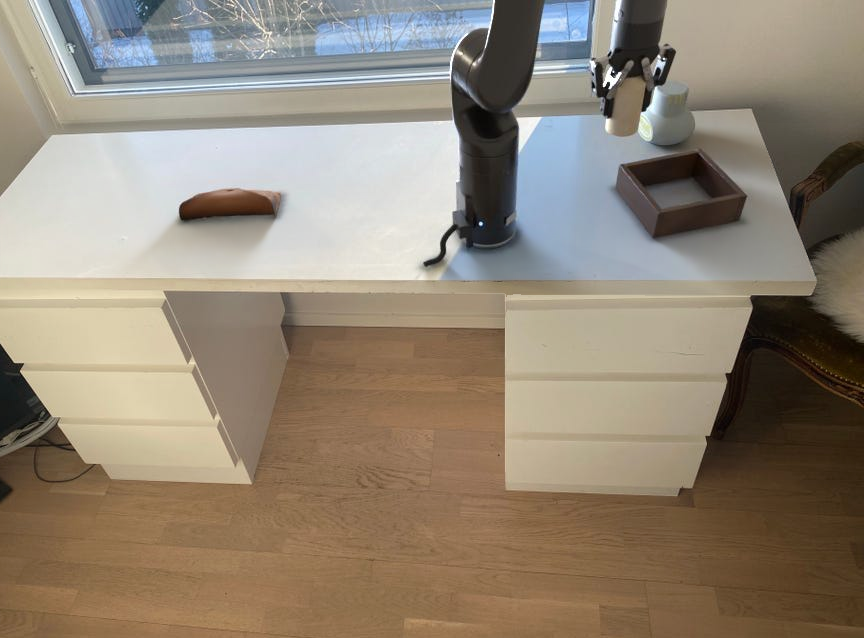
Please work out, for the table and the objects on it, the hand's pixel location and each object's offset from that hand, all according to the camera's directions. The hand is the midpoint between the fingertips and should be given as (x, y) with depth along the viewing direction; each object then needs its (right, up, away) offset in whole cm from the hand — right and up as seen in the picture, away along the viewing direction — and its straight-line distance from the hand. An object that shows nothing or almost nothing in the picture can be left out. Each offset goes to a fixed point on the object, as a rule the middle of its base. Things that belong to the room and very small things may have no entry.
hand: (623, 112), depth 123 cm
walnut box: (+9, -16, 0) cm, 18 cm away
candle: (0, -2, +2) cm, 3 cm away
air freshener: (+12, 0, +15) cm, 19 cm away
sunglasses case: (-70, -14, +12) cm, 72 cm away
